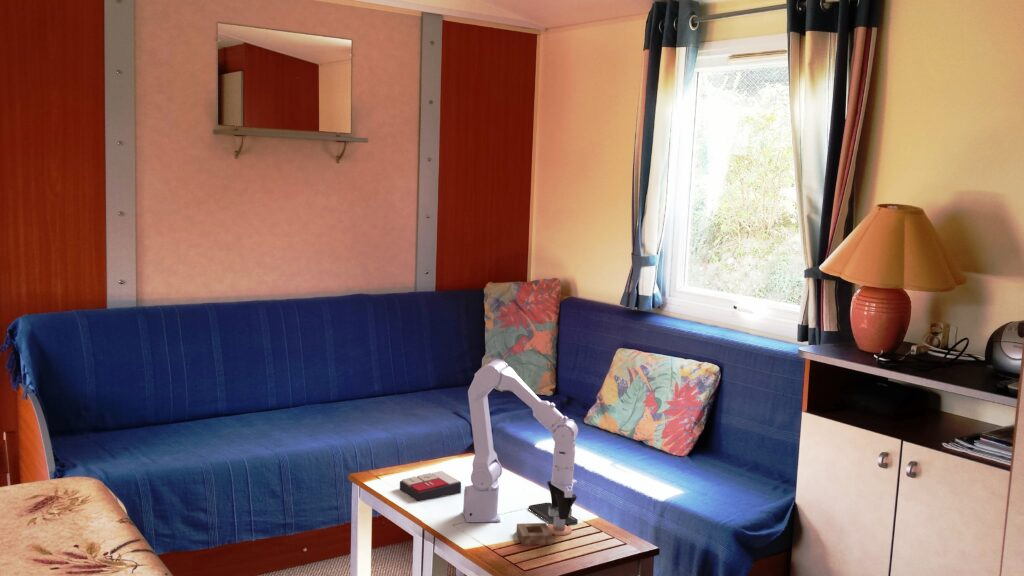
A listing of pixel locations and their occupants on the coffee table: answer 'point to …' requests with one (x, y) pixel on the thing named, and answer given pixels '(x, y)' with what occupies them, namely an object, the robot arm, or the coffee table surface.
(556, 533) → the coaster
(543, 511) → the phone
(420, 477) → the black red flat box
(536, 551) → the coffee table surface
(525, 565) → the coffee table surface
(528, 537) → the socket block
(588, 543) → the coffee table surface
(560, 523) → the t key
